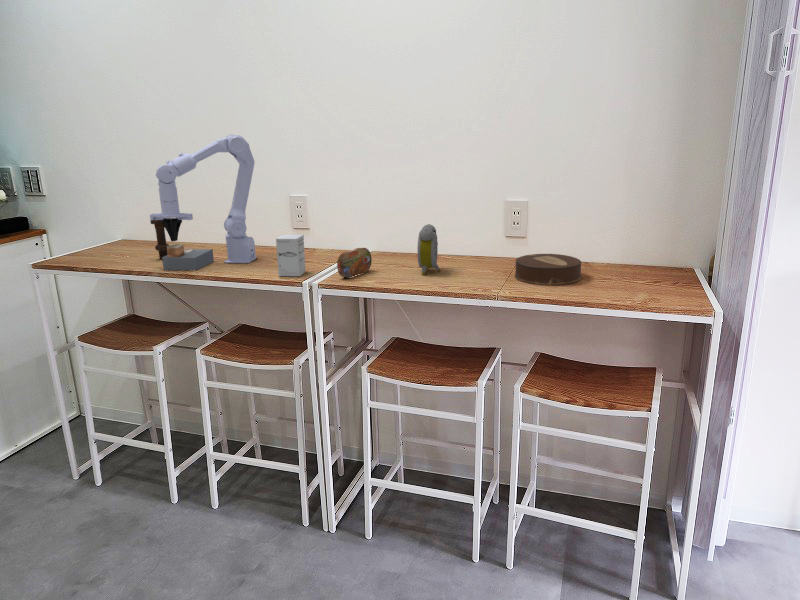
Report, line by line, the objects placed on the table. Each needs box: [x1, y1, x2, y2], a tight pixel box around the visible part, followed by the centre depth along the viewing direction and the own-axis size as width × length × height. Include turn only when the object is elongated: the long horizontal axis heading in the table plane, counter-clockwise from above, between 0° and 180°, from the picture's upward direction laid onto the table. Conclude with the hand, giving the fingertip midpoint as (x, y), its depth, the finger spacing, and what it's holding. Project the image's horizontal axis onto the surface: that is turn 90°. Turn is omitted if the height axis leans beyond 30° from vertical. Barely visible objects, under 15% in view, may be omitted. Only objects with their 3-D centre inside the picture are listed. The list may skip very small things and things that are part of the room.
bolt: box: [149, 220, 170, 260], centre depth 234 cm, size 6×5×15 cm
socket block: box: [161, 248, 215, 271], centre depth 223 cm, size 12×14×4 cm
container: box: [514, 253, 582, 287], centre depth 195 cm, size 20×20×6 cm
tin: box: [336, 247, 372, 279], centre depth 204 cm, size 15×3×8 cm, turn 145°
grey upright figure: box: [417, 223, 442, 276], centre depth 204 cm, size 12×7×15 cm, turn 171°
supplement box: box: [275, 234, 306, 277], centre depth 207 cm, size 7×7×13 cm
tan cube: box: [167, 243, 185, 257], centre depth 219 cm, size 4×4×4 cm
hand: (174, 240), depth 218 cm, fingers closed
